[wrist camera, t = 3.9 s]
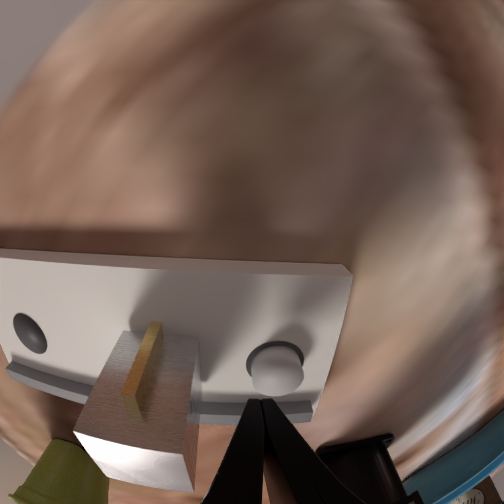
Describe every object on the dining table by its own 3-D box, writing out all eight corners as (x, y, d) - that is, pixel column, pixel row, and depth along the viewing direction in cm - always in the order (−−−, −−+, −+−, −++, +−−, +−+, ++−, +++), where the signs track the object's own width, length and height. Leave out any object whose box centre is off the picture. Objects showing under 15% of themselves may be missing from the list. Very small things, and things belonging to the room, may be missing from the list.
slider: (198, 321, 9) (178, 440, 5) (202, 390, 11) (194, 492, 6) (120, 314, 9) (62, 414, 5) (136, 383, 10) (106, 476, 6)
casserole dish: (556, 343, 18) (580, 365, 12) (521, 413, 26) (536, 432, 19) (361, 489, 21) (376, 533, 14) (371, 512, 28) (379, 539, 22)
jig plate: (342, 264, 11) (364, 287, 9) (309, 399, 13) (318, 430, 11) (-14, 247, 9) (-40, 261, 7) (23, 364, 12) (8, 385, 10)
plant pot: (99, 438, 14) (72, 529, 6) (142, 486, 17) (132, 554, 9) (21, 415, 14) (-12, 481, 6) (69, 467, 17) (51, 524, 9)
